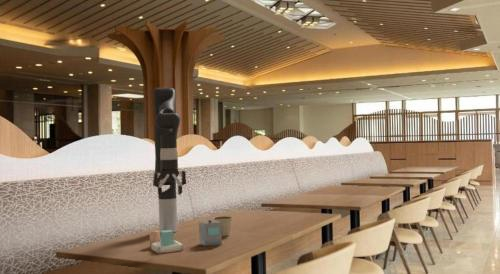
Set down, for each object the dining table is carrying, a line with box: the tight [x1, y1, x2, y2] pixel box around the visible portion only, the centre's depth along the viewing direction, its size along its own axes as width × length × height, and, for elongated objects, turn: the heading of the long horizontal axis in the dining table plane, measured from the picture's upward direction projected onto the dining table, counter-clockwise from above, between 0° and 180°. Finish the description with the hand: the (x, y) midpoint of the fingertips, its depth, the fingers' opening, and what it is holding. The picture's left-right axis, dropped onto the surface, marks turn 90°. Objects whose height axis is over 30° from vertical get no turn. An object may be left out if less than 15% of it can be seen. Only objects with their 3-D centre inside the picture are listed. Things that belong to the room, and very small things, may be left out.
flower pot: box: [212, 215, 233, 237], centre depth 251 cm, size 9×9×9 cm
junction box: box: [198, 219, 223, 248], centre depth 230 cm, size 7×8×11 cm
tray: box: [151, 240, 184, 254], centre depth 222 cm, size 11×11×2 cm
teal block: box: [160, 230, 175, 247], centre depth 222 cm, size 4×4×7 cm
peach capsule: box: [149, 229, 161, 248], centre depth 229 cm, size 4×4×7 cm
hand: (170, 195), depth 226 cm, fingers open, 8 cm apart
